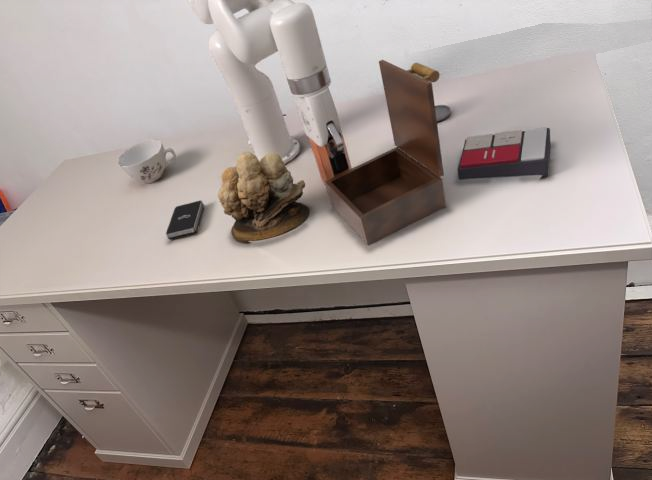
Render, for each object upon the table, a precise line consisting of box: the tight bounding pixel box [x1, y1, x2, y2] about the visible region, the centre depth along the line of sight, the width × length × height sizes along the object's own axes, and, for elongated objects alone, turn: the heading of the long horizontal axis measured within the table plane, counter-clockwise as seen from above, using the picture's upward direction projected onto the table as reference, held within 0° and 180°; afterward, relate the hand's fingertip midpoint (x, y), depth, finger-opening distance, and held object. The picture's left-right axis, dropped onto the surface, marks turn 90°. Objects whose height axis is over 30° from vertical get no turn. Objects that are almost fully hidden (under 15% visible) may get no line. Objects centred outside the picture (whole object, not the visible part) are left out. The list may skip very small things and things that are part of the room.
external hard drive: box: [165, 199, 205, 241], centre depth 118 cm, size 7×11×2 cm, turn 176°
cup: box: [308, 134, 353, 186], centre depth 105 cm, size 6×6×10 cm
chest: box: [325, 146, 447, 246], centre depth 97 cm, size 16×16×7 cm
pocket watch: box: [435, 104, 452, 122], centre depth 116 cm, size 8×8×10 cm
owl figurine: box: [217, 151, 310, 245], centre depth 103 cm, size 18×12×17 cm, turn 89°
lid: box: [378, 59, 445, 178], centre depth 90 cm, size 17×16×5 cm
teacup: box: [117, 139, 176, 184], centre depth 140 cm, size 15×12×8 cm
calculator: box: [457, 127, 551, 180], centre depth 97 cm, size 11×4×15 cm
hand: (333, 164), depth 106 cm, fingers closed on cup, 6 cm apart
